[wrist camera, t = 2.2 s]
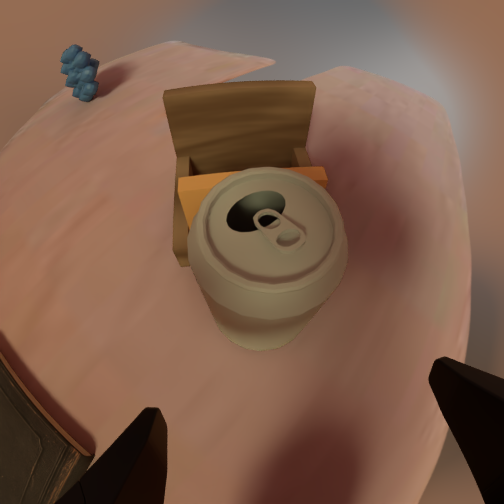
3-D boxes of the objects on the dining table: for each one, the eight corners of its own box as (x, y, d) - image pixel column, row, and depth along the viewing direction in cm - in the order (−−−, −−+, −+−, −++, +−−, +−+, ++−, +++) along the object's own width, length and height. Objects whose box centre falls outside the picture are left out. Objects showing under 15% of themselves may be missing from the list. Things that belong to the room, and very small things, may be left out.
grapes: (124, 92, 38) (107, 32, 27) (91, 115, 35) (68, 53, 24) (94, 84, 41) (78, 34, 30) (66, 103, 38) (46, 53, 28)
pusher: (307, 241, 24) (328, 179, 17) (197, 252, 24) (177, 191, 17) (304, 230, 25) (323, 166, 18) (196, 240, 24) (178, 177, 17)
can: (269, 246, 24) (283, 135, 14) (326, 314, 22) (393, 236, 11) (194, 294, 22) (149, 202, 12) (249, 371, 20) (250, 350, 9)
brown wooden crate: (325, 251, 24) (362, 172, 15) (180, 266, 23) (145, 190, 15) (298, 160, 29) (312, 81, 21) (182, 170, 29) (164, 90, 20)
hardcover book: (-39, 465, 10) (-50, 465, 8) (0, 344, 19) (-14, 339, 17) (41, 559, 6) (31, 565, 4) (98, 454, 16) (85, 458, 14)
